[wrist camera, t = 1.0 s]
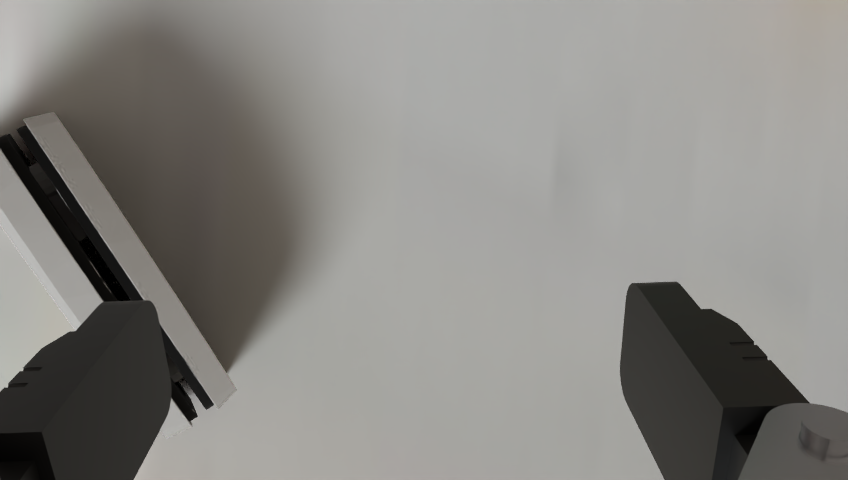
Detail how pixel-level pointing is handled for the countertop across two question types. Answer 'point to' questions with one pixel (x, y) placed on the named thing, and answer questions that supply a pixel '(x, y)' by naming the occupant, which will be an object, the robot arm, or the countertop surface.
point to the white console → (116, 243)
